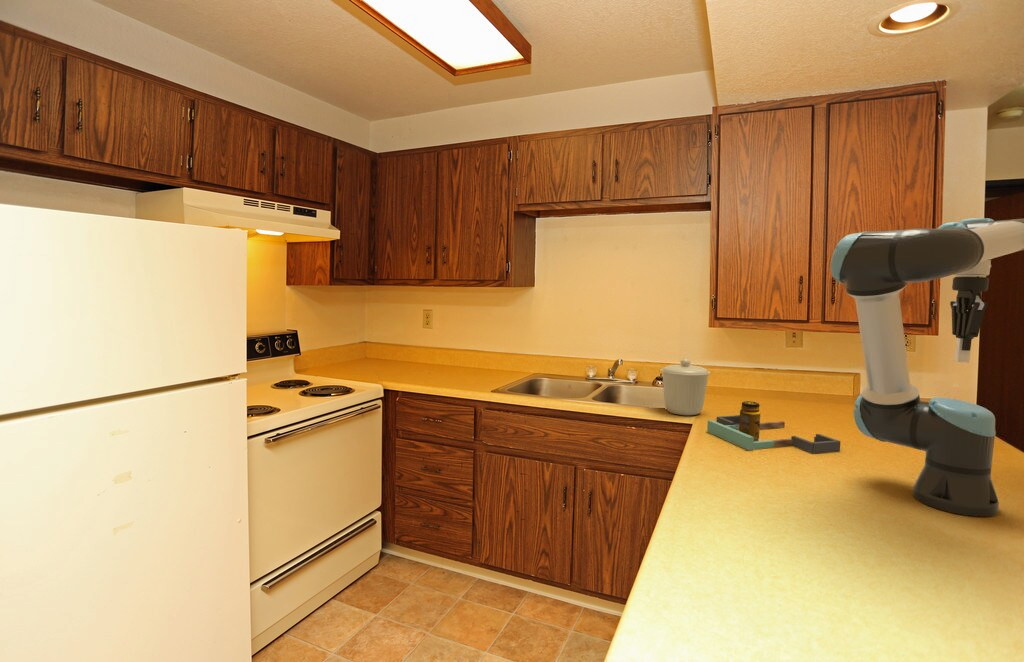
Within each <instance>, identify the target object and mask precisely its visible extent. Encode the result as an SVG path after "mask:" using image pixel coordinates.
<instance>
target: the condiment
mask: <svg viewBox="0 0 1024 662" xmlns="http://www.w3.org/2000/svg"><path fill="white" fill-rule="evenodd" d="M760 406H761V405H760V403H758V402H757V401H751V400H747V401H745V400H744V401H742V402H741V407H740V408H741V409H740V411H739V415H740V421H739V430H738V431H740V432H742V433H745V434H747V435H750V436H752V437H754V442H755V441H759V440H763V439H761V438H760V423H761V411H760ZM763 441H765V440H763Z"/></svg>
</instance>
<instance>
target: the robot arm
mask: <svg viewBox="0 0 1024 662" xmlns="http://www.w3.org/2000/svg"><path fill="white" fill-rule="evenodd" d="M1020 251H1024V218H1016V219H1015V218H1014V219H1004V220H994V219H992V218H987V217H986V218H985V217H975V218H974V217H973V218H965V219H961V221H960V222H959V221H954V222H952V221H951V222H946V223H944V224H941V225H939V226H938V227H937V228H922V227H921V228H919V227H918V228H907V229H895V230H891V229H890V230H875V231H867V230H866V231H863V232H862V231H861V232H857V233H856V232H855V233H850V234H847V235H845V236H844V237H843V238H841V239H840V240H839V242H838V243H837V244H836V246H835V249H834V250H833V253H832V256H831V262H830V271H831V275H832V278H833V279H834V280H835V282H838V283H840V284H844V285H845V289H846V290H845V291H846V294H847V295H848V296H850V297H851V298H853V299H854V301H855V306H856V307H855V308H856V314H857V321H858V322H857V323H858V327H859V328H858V329H859V335H860V341H861V348H862V349H861V350H862V355H863V362H864V369H865V376H866V377H865V378H866V383H867V386H865V388H863V389H862V390H861V394H859V395H858V396H857V398H856V400H855V402H854V407H855V408H854V409H853V419H854V422H855V425H856V427H857V429H858V430H859V432H861V434H863V435H865V436H866V437H869V438H872V439H875V440H877V441H879V442H882V443H883V442H884V443H890V444H895V445H899V446H903V447H908V448H909V449H910V448H912V449H915V450H920V451H923V452H925V458H924V466H923V467H922V469H921V471H920V473H919V475H918V477H917V479H916V480H915V482H914V485H913V491H912V495H913V497H914V499H915V500H917V501H919V502H921V503H923V504H924V505H927V506H929V507H933V508H934V509H938V510H940V511H943V512H948V513H952V514H956V513H958V514H957V515H962V514H965V515H964V516H968V515H973V516H972V517H978V516H987V517H993V516H992V515H994V516H997V515H998V513H999V504H1000V501H999V499H998V496H997V493H996V489H995V485H994V483H993V480H992V477H991V476H992V466H993V455H994V446H995V436H996V434H997V431H996V418H995V417H996V416H995V414H994V413H993V412H992V411H991V410H988V409H987V408H986V407H983V406H980V405H979V404H975V403H971V402H968V401H966V400H965V401H964V400H961V399H956V398H955V399H954V398H953V399H952V398H949V397H933V398H931V399H930V401H923V400H922V399H921V397H920V391H919V389H918V388H917V387H916V386H914V385H912V384H911V380H910V372H909V371H910V370H909V363H908V353H907V348H906V339H905V338H906V337H905V331H904V325H903V323H904V322H903V316H902V306H901V299H900V293H901V292H902V291H903V290H904V289H905V288H906V287H907V284H909V283H921V282H922V283H923V282H928V281H934V280H938V279H942V278H946V277H950V276H953V275H954V278H952V283H951V284H952V285H951V289H952V290H953V291H957V294H956V298H955V300H953V301H950V303H949V305H950V309H951V334H952V335H953V336H955V338H956V345H955V354H954V355H955V356H954V362H955V363H968V364H969V363H970V360H971V359H970V358H971V349H972V340H974V338H978V337H979V333H980V330H981V326H982V323H983V318H984V314H985V311H986V309H987V308H988V306H989V304H988V302H983V301H982V299H983V295H982V292H986V291H988V290H989V283H990V278H989V277H987V276H989V275H990V271H991V268H992V264H991V262H992V259H995V258H996V259H997V258H999V257H1002V256H1005V255H1009V254H1013V253H1016V252H1017V253H1018V252H1020Z"/></svg>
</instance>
